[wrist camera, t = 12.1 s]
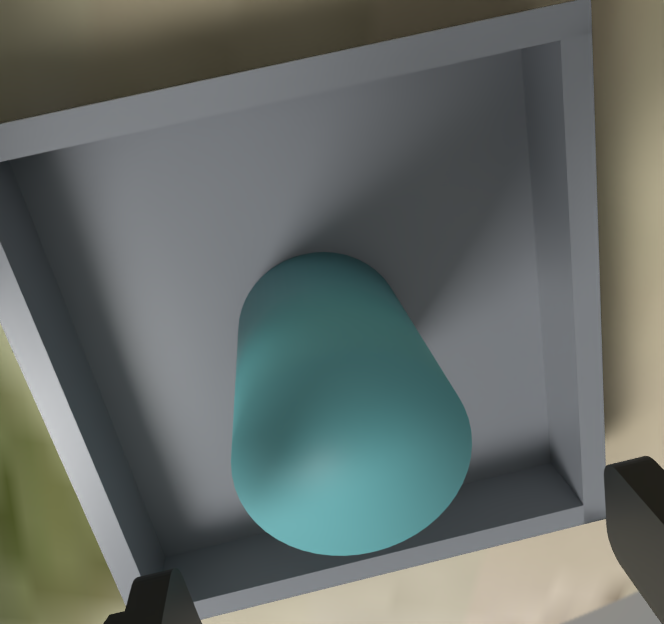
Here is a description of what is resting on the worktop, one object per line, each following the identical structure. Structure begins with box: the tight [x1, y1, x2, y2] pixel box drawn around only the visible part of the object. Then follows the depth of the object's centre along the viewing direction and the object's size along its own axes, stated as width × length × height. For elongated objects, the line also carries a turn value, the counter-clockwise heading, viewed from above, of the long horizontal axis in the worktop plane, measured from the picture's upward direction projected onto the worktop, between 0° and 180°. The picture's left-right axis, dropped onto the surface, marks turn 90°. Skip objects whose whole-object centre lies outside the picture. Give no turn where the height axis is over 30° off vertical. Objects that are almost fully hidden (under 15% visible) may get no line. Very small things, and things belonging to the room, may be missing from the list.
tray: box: [0, 0, 606, 620], centre depth 19 cm, size 16×16×3 cm
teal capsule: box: [231, 252, 472, 556], centre depth 17 cm, size 5×5×7 cm
